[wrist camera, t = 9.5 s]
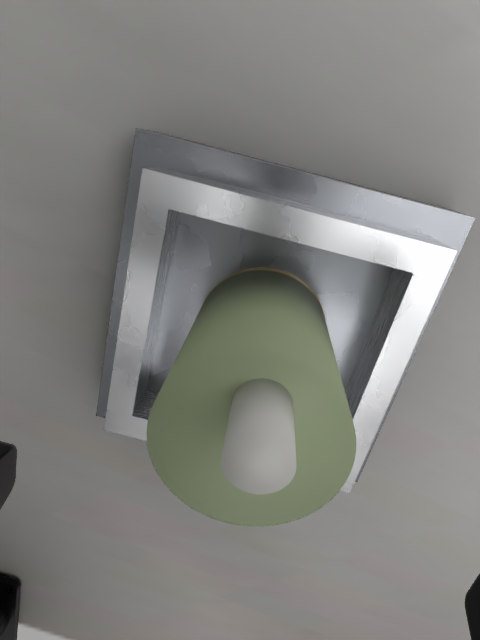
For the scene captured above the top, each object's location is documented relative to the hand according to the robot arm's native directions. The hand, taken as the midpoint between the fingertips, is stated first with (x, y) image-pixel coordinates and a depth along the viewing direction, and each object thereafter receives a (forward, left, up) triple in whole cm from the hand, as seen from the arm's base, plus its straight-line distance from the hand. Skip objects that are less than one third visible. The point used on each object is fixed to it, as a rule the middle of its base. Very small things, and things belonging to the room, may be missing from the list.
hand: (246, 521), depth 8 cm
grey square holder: (0, 0, -12) cm, 12 cm away
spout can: (0, 0, -9) cm, 9 cm away
